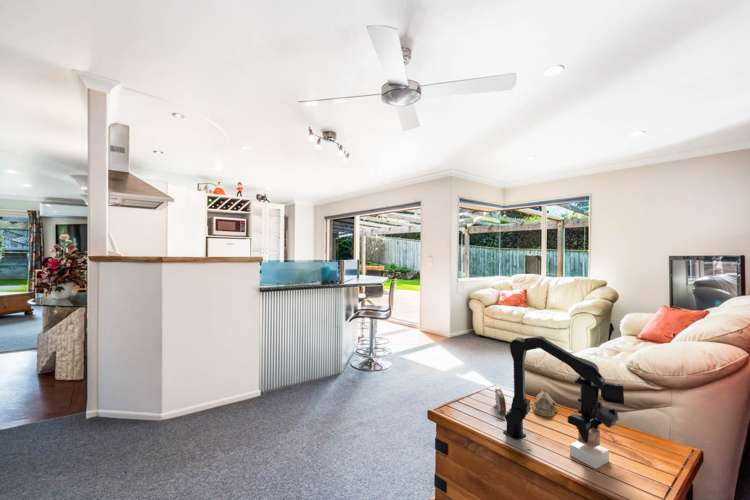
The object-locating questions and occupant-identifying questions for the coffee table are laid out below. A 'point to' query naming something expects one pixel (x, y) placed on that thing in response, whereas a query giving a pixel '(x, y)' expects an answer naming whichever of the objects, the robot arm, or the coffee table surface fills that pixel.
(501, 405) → the mottled stone slab
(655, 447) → the coffee table surface
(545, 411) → the ceramic model
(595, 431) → the terracotta cube
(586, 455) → the base block
